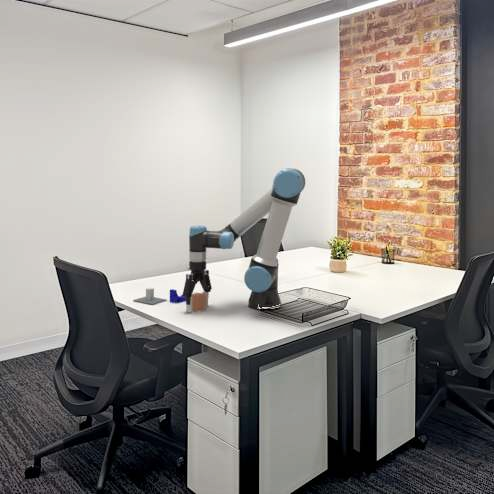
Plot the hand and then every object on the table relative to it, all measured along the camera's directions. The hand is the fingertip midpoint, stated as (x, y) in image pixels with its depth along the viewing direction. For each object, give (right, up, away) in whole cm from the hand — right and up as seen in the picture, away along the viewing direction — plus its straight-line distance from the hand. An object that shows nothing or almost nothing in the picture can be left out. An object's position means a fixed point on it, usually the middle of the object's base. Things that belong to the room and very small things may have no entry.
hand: (197, 308), depth 235 cm
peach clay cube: (0, 0, 0) cm, 0 cm away
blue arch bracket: (-9, +2, +16) cm, 18 cm away
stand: (-24, +2, +13) cm, 27 cm away
